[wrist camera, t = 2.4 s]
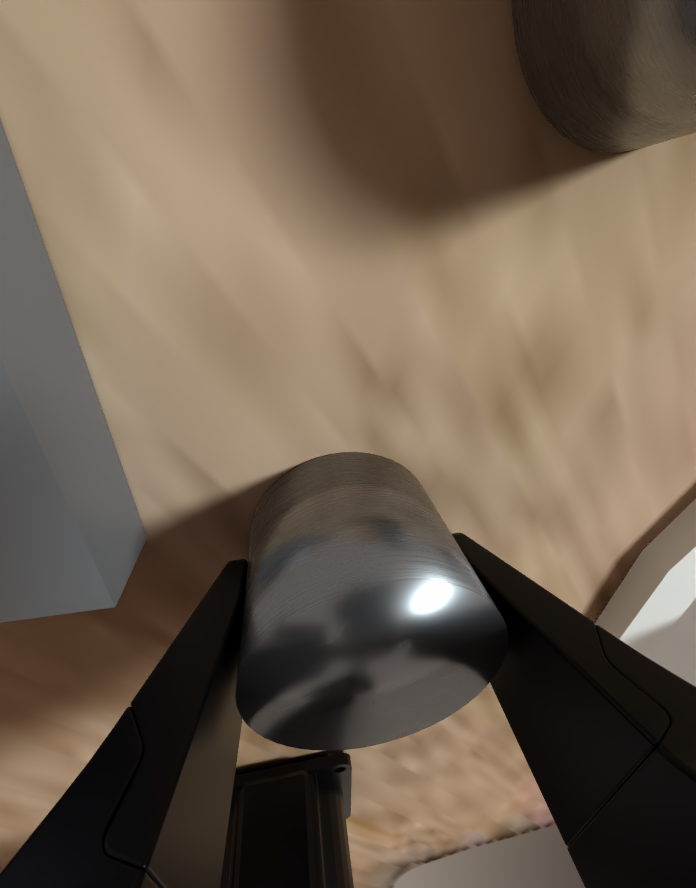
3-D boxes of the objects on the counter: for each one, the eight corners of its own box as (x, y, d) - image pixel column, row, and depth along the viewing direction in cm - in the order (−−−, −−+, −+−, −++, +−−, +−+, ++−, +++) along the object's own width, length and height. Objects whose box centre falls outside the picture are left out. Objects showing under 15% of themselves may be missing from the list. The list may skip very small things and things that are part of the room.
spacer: (419, 580, 11) (481, 722, 8) (261, 602, 11) (254, 770, 7) (439, 444, 9) (539, 563, 6) (238, 461, 8) (210, 610, 5)
